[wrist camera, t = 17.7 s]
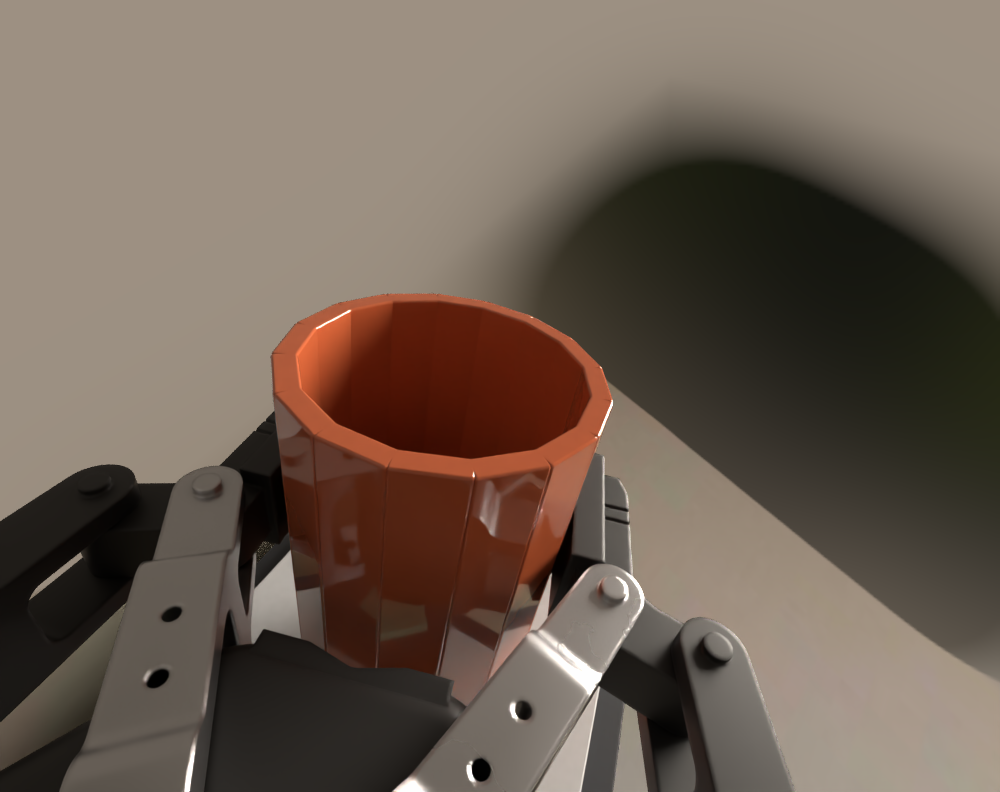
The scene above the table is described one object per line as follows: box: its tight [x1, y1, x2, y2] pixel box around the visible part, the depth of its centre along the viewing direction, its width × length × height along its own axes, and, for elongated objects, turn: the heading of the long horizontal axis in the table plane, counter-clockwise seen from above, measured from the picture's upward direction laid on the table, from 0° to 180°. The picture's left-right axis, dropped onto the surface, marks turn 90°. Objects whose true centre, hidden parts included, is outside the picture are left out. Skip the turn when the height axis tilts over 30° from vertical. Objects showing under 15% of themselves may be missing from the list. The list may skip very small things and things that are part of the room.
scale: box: [251, 532, 625, 792], centre depth 15 cm, size 14×16×3 cm
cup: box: [270, 294, 613, 706], centre depth 12 cm, size 6×6×10 cm
